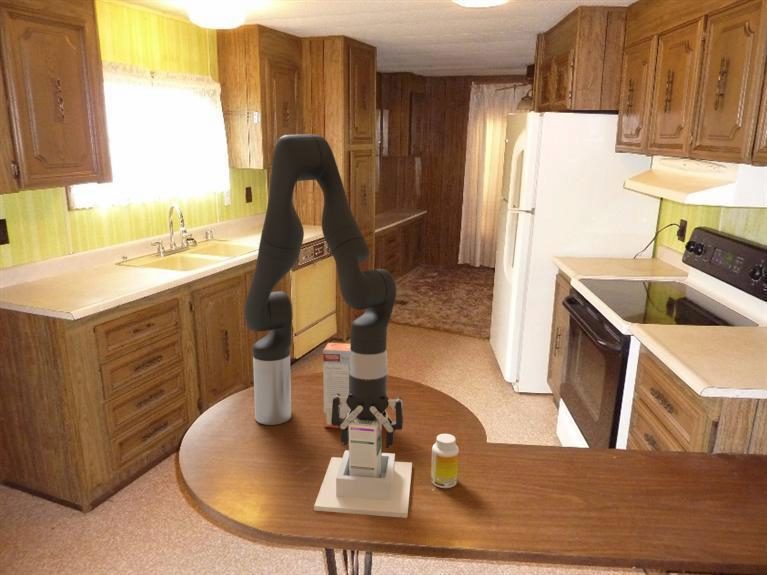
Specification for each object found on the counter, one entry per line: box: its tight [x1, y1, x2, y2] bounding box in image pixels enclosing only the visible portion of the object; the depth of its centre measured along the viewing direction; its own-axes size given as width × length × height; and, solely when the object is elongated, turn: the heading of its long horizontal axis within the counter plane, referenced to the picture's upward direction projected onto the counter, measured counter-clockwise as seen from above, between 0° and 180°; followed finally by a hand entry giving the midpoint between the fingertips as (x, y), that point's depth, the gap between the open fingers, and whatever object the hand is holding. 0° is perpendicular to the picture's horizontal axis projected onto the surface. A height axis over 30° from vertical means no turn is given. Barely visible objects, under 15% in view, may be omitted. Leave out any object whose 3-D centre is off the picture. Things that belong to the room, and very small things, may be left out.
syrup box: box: [348, 417, 383, 478], centre depth 115 cm, size 6×6×14 cm
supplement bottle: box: [430, 433, 460, 489], centre depth 118 cm, size 6×6×10 cm
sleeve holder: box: [313, 449, 413, 519], centre depth 116 cm, size 18×18×5 cm
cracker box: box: [322, 342, 351, 429], centre depth 141 cm, size 14×6×21 cm, turn 83°
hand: (367, 445), depth 114 cm, fingers open, 8 cm apart
